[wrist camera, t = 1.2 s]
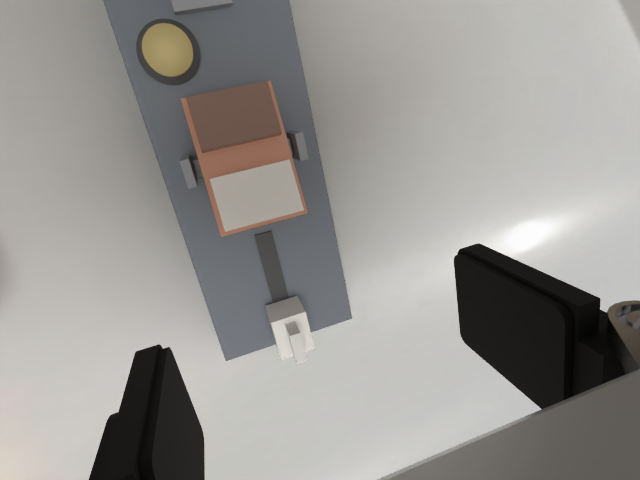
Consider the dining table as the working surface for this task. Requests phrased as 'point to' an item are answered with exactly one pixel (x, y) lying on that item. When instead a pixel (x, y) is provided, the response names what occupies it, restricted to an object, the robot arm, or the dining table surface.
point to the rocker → (244, 157)
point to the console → (185, 172)
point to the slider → (290, 329)
